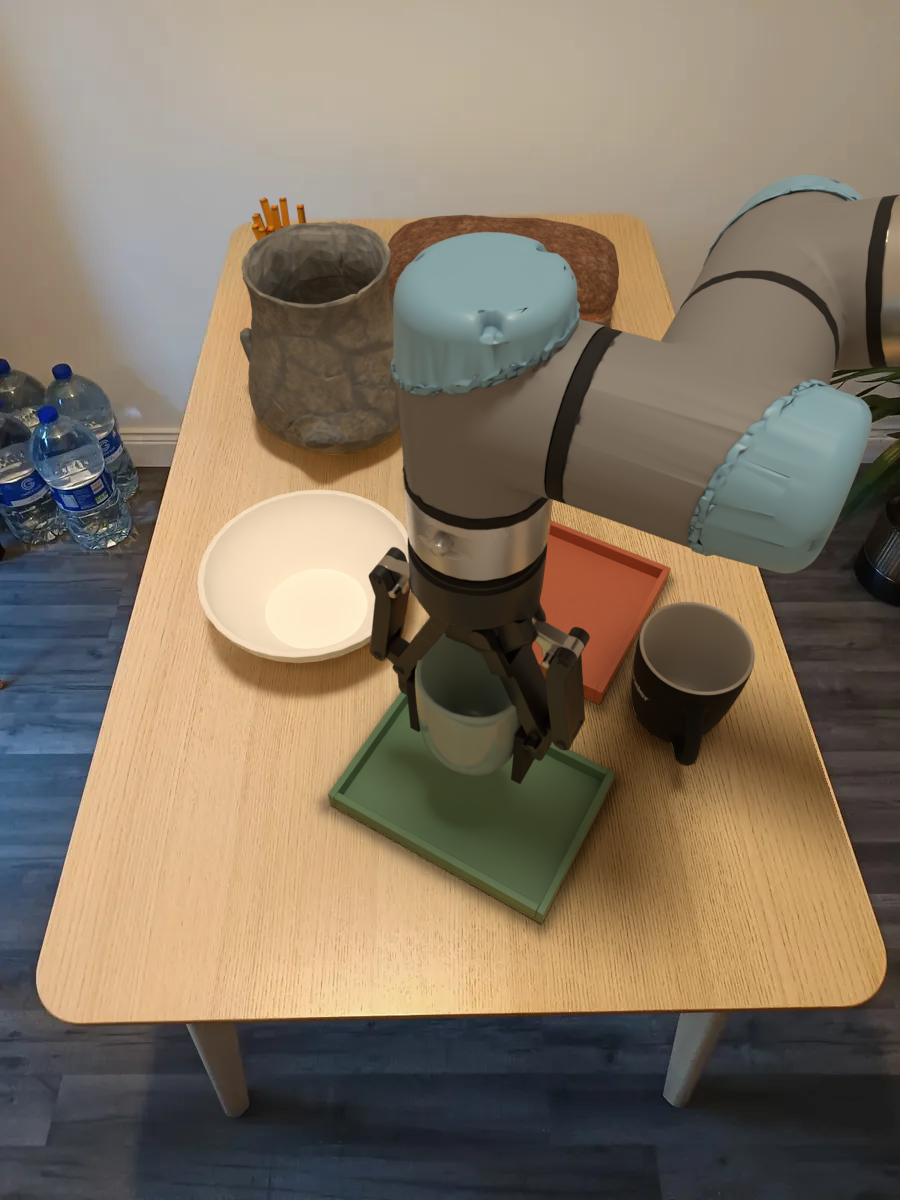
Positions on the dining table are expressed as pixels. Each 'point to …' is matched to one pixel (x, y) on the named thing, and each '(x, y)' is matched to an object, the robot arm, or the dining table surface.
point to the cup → (464, 710)
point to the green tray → (476, 811)
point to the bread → (574, 243)
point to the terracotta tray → (597, 600)
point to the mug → (688, 673)
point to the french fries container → (274, 218)
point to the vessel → (322, 337)
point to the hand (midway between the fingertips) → (472, 741)
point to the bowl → (298, 574)
